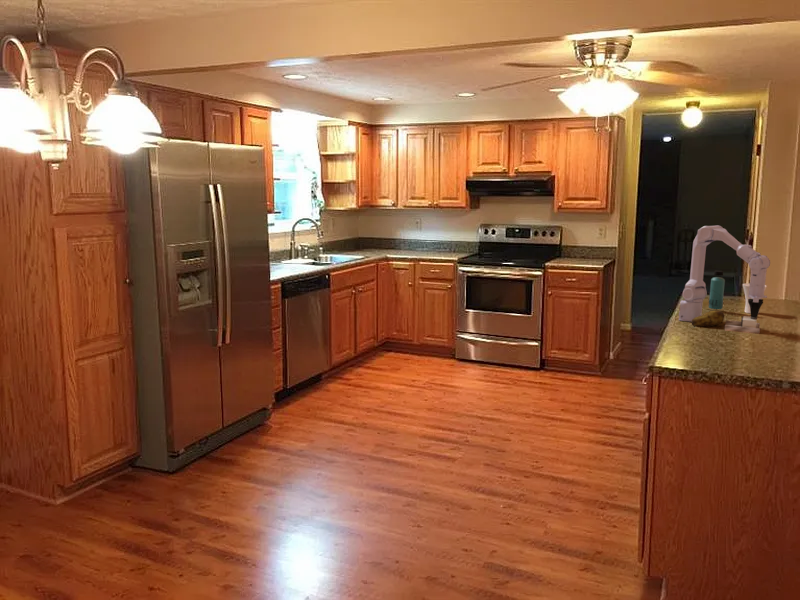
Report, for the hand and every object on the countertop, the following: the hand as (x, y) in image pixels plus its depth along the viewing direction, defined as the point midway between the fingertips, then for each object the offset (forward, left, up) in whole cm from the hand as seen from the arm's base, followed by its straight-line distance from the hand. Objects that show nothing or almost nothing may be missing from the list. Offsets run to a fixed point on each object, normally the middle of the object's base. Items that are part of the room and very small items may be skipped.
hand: (754, 316), depth 282 cm
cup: (0, +49, -7) cm, 49 cm away
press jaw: (-2, 0, -6) cm, 6 cm away
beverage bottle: (-16, +44, -7) cm, 47 cm away
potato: (-18, 0, -7) cm, 19 cm away
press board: (-4, 0, -7) cm, 8 cm away
